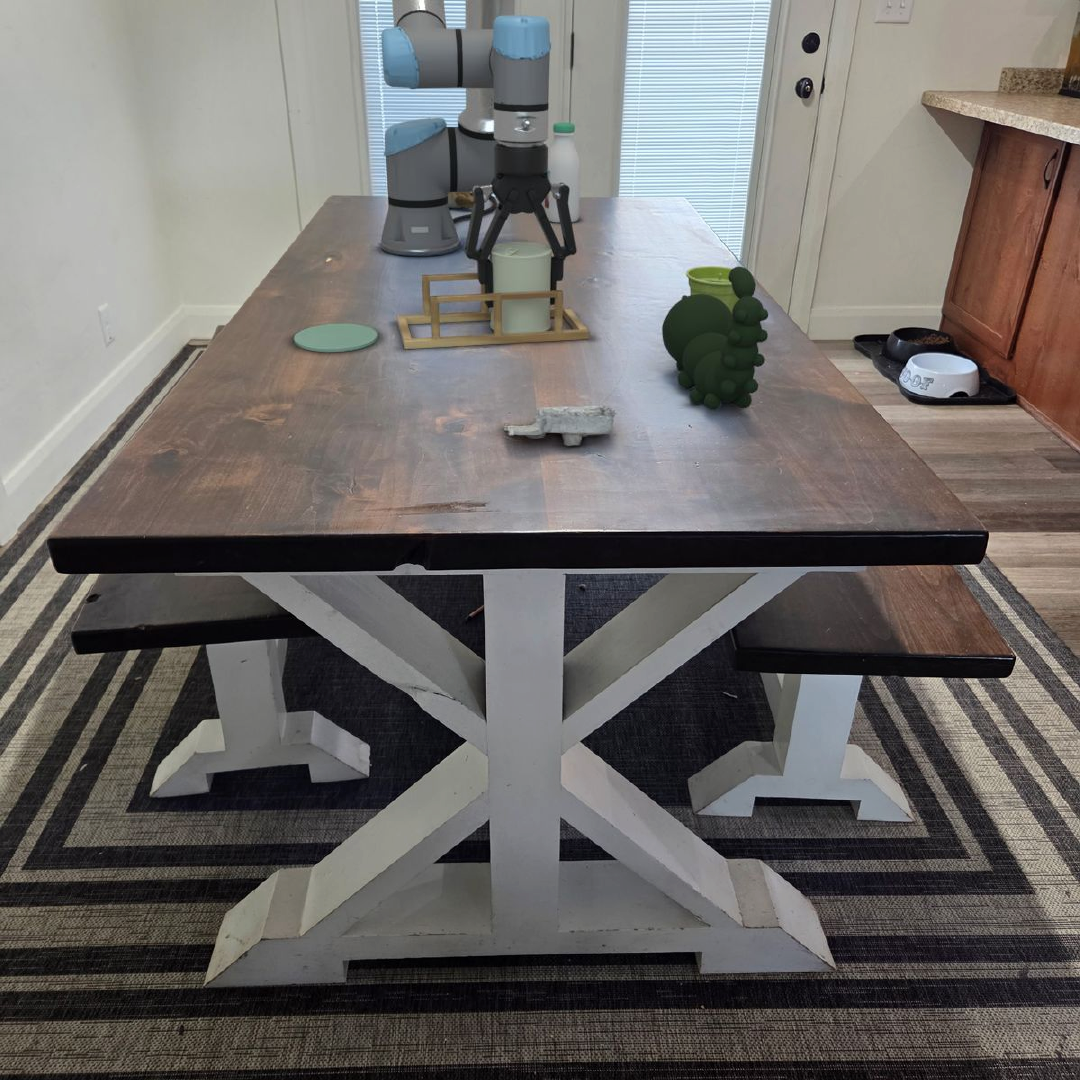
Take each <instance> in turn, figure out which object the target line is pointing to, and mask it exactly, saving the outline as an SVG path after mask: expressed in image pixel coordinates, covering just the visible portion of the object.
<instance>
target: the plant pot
mask: <svg viewBox="0 0 1080 1080" xmlns="http://www.w3.org/2000/svg"><path fill="white" fill-rule="evenodd" d="M732 269H733V267H726V266H718V265H717V266H715V265H713V266H712V265H710V266H707V265H706V266H705V265H704V266H697V267H692V268H689V269H687V270H686V272H685V276H686V277H687V278H688V287H689V289H690V290H689V291H690V295H694V294H707V295H711V296H713V297H716V298H718V299H719V300H721V301H722V302H723V303H725V304H726V305H727V307H728V308H729V309H730V311H731V313H732V310H733V307H734V305H735V303H736V302H737V301H738V300H739V298H738V297H737V296H736V295H735V293H734V291H733V288H732V284H731V282H730V281H729V278H728V277H729V273H730V271H731V270H732Z"/></svg>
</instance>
